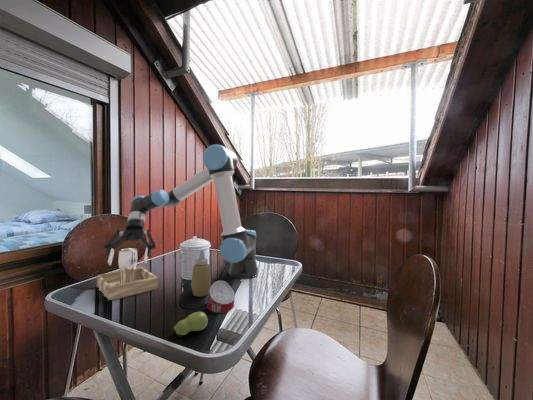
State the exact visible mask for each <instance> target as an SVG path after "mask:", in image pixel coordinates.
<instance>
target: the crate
mask: <svg viewBox="0 0 533 400" xmlns="http://www.w3.org/2000/svg"><path fill="white" fill-rule="evenodd" d="M119 283H120V270H118V271H113V272H108V273H107V272H106V273H101V274H97V275H96V288H97V287H98V288H99V289H98V288H97V289H98V291H99V292H100V291H101V292H102V293H103V294H104V295H103V294H102V293H101V292H100V293H101V294H102V295H103V297H106V298H107V299H108V300H107V299H106V298H105V299H106V300H107V301H108V302H110V301H109V300H112V301H115V300H119V299H123V298H127V297H131V296H135V295H138V294H143V293H146V292H147V293H149V292H151V291H154V290H156V291H157V290H158V287H159V285H158V284H159V277H158V276H157V275H155V274H153V273H152V272H150V271H149V270H148V269H146V268H144V267H143V266H140V267H136V271H135V282H130V283H125V284H121V285H119Z"/></svg>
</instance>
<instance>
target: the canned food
mask: <svg viewBox="0 0 533 400" xmlns="http://www.w3.org/2000/svg"><path fill="white" fill-rule="evenodd" d="M208 294H209V296H208V297H207V301H206V302H207V305H206V306H207V307H206V308H207V310H208V311H210V312H213V313H227V312H230V311H231V309H232V308H233V307H234V308H235V298H236V297H235V296H236V294H235V291H234V289H233V288H232V286H231V285H229V283H228V282H227V281H225V280H217V281H214V282H213V283H211V287H210V289H209V292H208ZM234 308H233V309H234ZM233 309H232V310H233ZM229 310H230V311H229Z"/></svg>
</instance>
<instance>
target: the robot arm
mask: <svg viewBox="0 0 533 400" xmlns="http://www.w3.org/2000/svg"><path fill="white" fill-rule="evenodd" d="M202 162H203V165H204V166H205V168H203V169H202V170H200V171H199V172H198V173H195V174H194V175H193V176H191V177H190V178H188V179H186V180H185V181H184V182H182V183H180V184H179V185H177V186H176V187H174V188H173V189H171V190H169V191H168V192H167V191H165V190H164V189H159V190H155V191H152V192H151V193H150V194H147V195H143V194H142V195H141V194H140V195H136V196H134V197H133V199H132V201H131V203H130V209H129V212H128V213H129V214H128V217H127V221H126V222H127V223H126V226H125V229H124V231H123V230H120V229H117V230H116V233H115V234H114V235H112V237H111V238H110V240H108V242H106V243H105V245H104V246H103V247H104V250H105V251H107V254H106V256H107V258H108V259H107V264H108V266H112V264H113V263H112V262H113V260H114V255H115V250H117V249H118V248H119V246H122V245H123V243H125V242H127V241H139V242H141V243H142V245H143V246H145V252H144V258H143V262H144V265H147V263H148V257H150V256H151V254H152V250H156V249H157V247H156V243H155V241H154V239H153V237H152V234H151V230H150V229H147V230H144V229H145V223H146V219H147V213H148V212H150V211H153V210H155V209H157V208H166V207H168V208H169V207H175V206H176V207H177V206H179V205H180V203H181V202H182V201H183V200H185V199H186V198H188V197H189V196H192V194H194V193H196V192H198V191H200V190H201V189H202V188H203V187H206V186H207V185H208V184H210V183H212V182H214V187H215V188H214V189H215V193H216V198H217V203H218V210H219V214H220V220H221V225H222V230H223V231H222V232H221V233H220V238H221V244H220V245H219V253H220V256H221V257H222V258H223V260H225V261H227V263H230V266H229V268H228V275H229V276H230V277H232V278H234V279H235V278H236V279H251V278H250V277H253V276H255V275H257V274H258V275H259V268H258V265H257V260H256V250H257V248H256V247H257V232H256V230H252V229H245V228H244V227H243V226H242V222H241V221H242V220H241V216H240V212H239V205H238V201H237V197H236V195H237V194H236V190H235V185H234V180H233V175H234V174H235V170H236V167H237V166H238V157H237V155H236V153H235V152H234V151H233V150H232V149H229V148H227V147H225V146H224V145H222V144H217V143H215V144H214V143H213V144H211V145H209V146H208V147H207V148H206V149H205V150H204V152H203V154H202ZM144 235H145V236H146V237H147V239H148V241H149V242H150V243H149V242H148V241H147V240H146V239H145V238H144V237H143V236H144ZM258 275H257V276H258ZM255 277H256V276H255ZM253 278H254V277H253Z"/></svg>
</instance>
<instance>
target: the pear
mask: <svg viewBox="0 0 533 400" xmlns="http://www.w3.org/2000/svg"><path fill="white" fill-rule="evenodd" d="M208 322H209V318H208V315H207V314H206V313H205V312H204V311H196V312H193V313H190V314H189V315H187V317H186V318H184V319H181V320H179V321H178V322H177V323H176V324H175V325H174V326H173V330H174V332H175V334H176V335H177V334H178V335H179V334H180V335H186V334H187V335H188V333H190V332H200V331H203V330H204V329H205V328H206V327H207V325H208ZM187 335H186V336H187Z"/></svg>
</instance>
